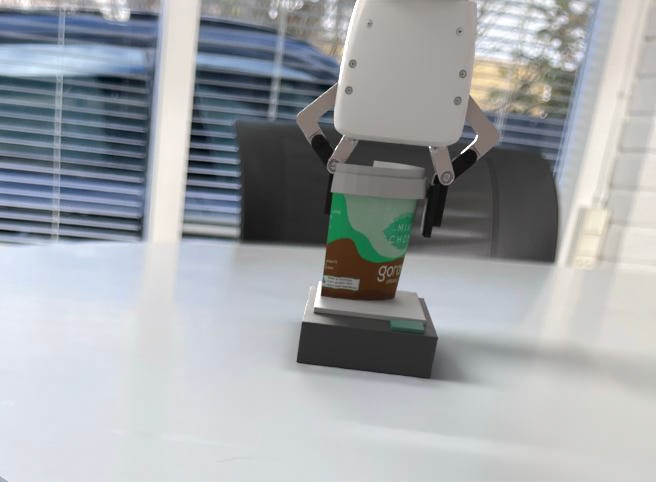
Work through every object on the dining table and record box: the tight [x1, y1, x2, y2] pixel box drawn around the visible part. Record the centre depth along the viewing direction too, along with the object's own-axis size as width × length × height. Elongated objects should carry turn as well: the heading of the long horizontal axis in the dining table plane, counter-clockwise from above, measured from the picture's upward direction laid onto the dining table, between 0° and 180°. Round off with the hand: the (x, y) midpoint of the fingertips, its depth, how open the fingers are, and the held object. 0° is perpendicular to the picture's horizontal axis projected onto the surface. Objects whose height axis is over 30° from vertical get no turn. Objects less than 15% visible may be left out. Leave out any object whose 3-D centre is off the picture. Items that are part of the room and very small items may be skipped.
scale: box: [296, 281, 439, 379], centre depth 86 cm, size 10×18×3 cm, turn 171°
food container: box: [321, 160, 429, 301], centre depth 87 cm, size 12×6×10 cm, turn 156°
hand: (380, 229), depth 87 cm, fingers closed on food container, 6 cm apart
